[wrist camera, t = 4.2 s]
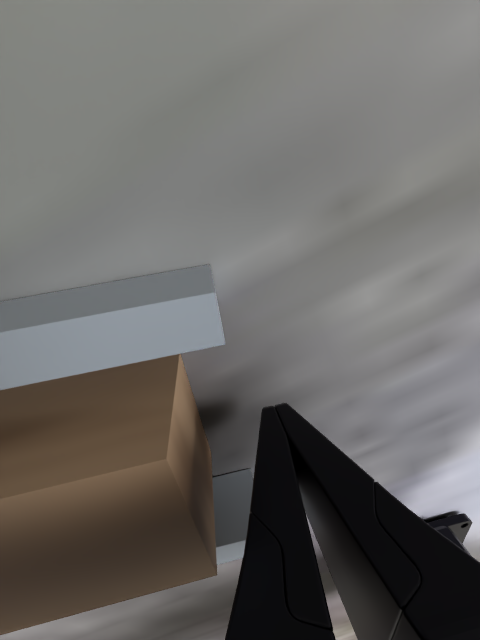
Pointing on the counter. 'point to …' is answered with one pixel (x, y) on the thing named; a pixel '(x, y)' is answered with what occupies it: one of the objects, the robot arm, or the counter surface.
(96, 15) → the counter surface
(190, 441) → the walnut block
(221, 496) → the channel
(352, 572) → the robot arm
